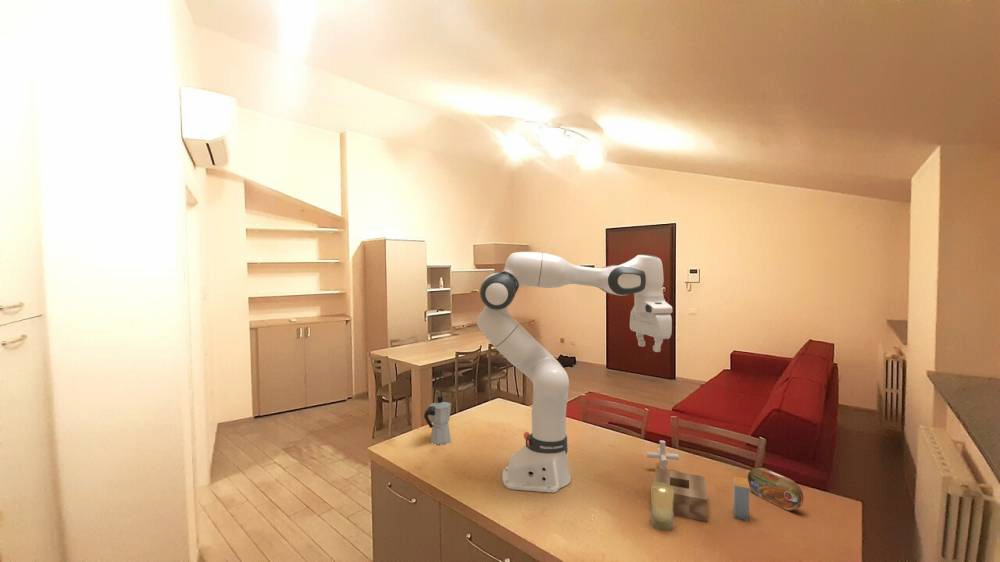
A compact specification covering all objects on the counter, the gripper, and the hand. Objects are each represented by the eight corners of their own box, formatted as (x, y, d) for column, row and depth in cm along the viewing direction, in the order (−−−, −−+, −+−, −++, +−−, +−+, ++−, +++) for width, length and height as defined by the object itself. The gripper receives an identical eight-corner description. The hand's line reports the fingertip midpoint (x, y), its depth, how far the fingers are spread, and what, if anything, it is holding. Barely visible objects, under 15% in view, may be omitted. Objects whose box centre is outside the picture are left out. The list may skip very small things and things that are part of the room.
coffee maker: (443, 433, 178) (443, 390, 178) (459, 438, 173) (458, 394, 173) (417, 445, 166) (416, 399, 166) (433, 451, 161) (432, 403, 161)
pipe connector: (681, 479, 138) (681, 448, 138) (649, 476, 140) (649, 446, 140) (675, 465, 148) (675, 436, 148) (645, 462, 150) (645, 434, 150)
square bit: (734, 518, 116) (734, 482, 116) (733, 511, 120) (733, 476, 119) (749, 521, 115) (749, 484, 115) (747, 514, 118) (747, 478, 118)
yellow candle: (655, 530, 111) (655, 493, 111) (648, 518, 117) (648, 482, 116) (677, 530, 111) (677, 492, 111) (668, 517, 117) (668, 482, 117)
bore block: (652, 510, 121) (652, 489, 120) (655, 487, 133) (655, 468, 133) (706, 521, 115) (707, 499, 115) (705, 496, 128) (705, 476, 127)
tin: (746, 491, 131) (747, 463, 130) (753, 488, 132) (753, 461, 132) (798, 516, 117) (798, 486, 117) (805, 514, 118) (805, 484, 118)
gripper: (624, 303, 145) (625, 343, 146) (656, 308, 125) (656, 355, 125) (642, 302, 146) (642, 342, 147) (675, 308, 126) (675, 354, 126)
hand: (648, 348), depth 136 cm, fingers open, 8 cm apart
